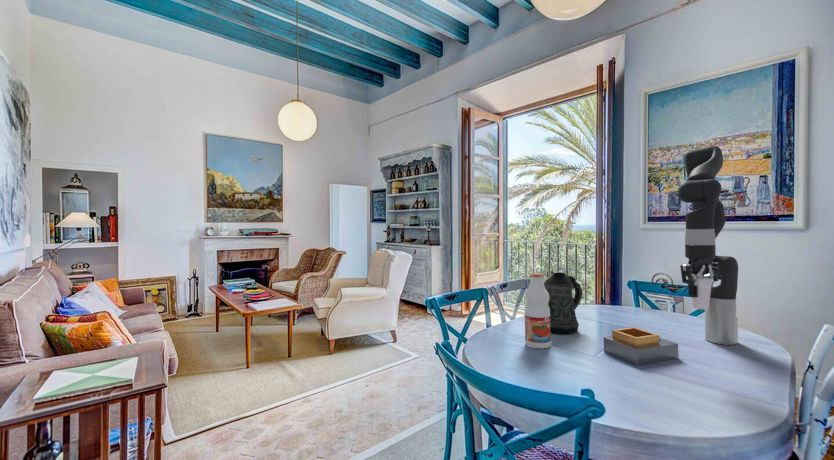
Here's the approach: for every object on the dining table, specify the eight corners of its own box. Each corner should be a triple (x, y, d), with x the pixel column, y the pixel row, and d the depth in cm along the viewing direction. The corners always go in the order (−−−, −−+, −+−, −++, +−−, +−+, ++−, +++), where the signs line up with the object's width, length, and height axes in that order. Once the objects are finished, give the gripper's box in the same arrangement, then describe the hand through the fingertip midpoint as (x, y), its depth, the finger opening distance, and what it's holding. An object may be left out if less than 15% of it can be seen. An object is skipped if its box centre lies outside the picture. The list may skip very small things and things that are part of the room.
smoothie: (718, 310, 107) (717, 265, 107) (695, 310, 109) (694, 265, 108) (706, 305, 114) (705, 262, 113) (683, 305, 115) (682, 263, 115)
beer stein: (531, 329, 156) (530, 273, 156) (552, 320, 169) (551, 269, 169) (568, 337, 144) (567, 277, 144) (587, 327, 157) (586, 272, 157)
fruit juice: (538, 339, 142) (537, 271, 142) (556, 347, 134) (554, 274, 133) (520, 343, 139) (518, 273, 138) (536, 351, 130) (535, 276, 130)
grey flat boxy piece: (648, 343, 135) (647, 323, 135) (684, 356, 121) (684, 334, 121) (603, 350, 129) (603, 329, 129) (637, 365, 116) (636, 340, 116)
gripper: (703, 241, 116) (704, 292, 117) (671, 243, 112) (671, 295, 113) (729, 242, 109) (730, 296, 110) (695, 244, 105) (696, 300, 106)
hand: (700, 295), depth 111 cm, fingers closed on smoothie, 6 cm apart
